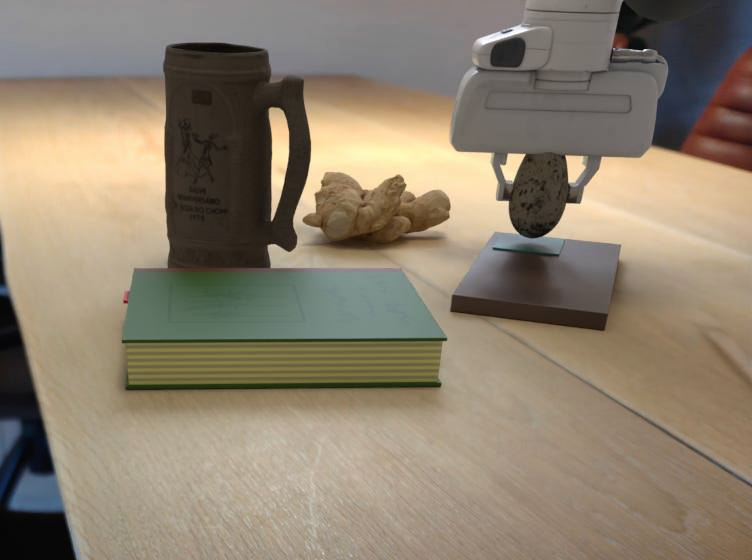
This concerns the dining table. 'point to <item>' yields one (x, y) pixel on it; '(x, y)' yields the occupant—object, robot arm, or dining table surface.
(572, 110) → the robot arm
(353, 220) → the ginger root
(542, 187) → the decorative egg
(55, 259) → the dining table surface
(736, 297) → the dining table surface
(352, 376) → the hardcover book
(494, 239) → the serving board
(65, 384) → the dining table surface
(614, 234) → the dining table surface
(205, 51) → the beer stein
